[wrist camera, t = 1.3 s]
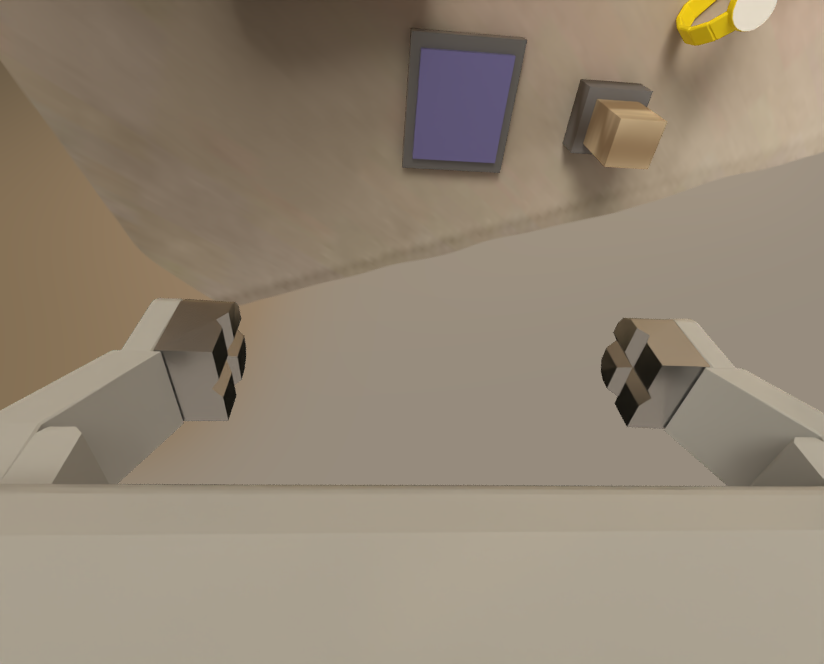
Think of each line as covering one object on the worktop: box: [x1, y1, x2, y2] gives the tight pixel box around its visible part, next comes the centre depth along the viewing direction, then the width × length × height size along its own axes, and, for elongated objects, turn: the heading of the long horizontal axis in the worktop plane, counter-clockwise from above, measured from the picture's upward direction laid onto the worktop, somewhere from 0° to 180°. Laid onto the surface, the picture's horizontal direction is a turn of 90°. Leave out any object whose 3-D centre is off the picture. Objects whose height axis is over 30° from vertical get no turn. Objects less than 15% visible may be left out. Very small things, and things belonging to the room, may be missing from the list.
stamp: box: [563, 79, 667, 169], centre depth 37 cm, size 5×5×7 cm
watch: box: [676, 0, 777, 46], centre depth 32 cm, size 6×3×6 cm, turn 135°
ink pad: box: [402, 28, 527, 173], centre depth 38 cm, size 10×8×2 cm
